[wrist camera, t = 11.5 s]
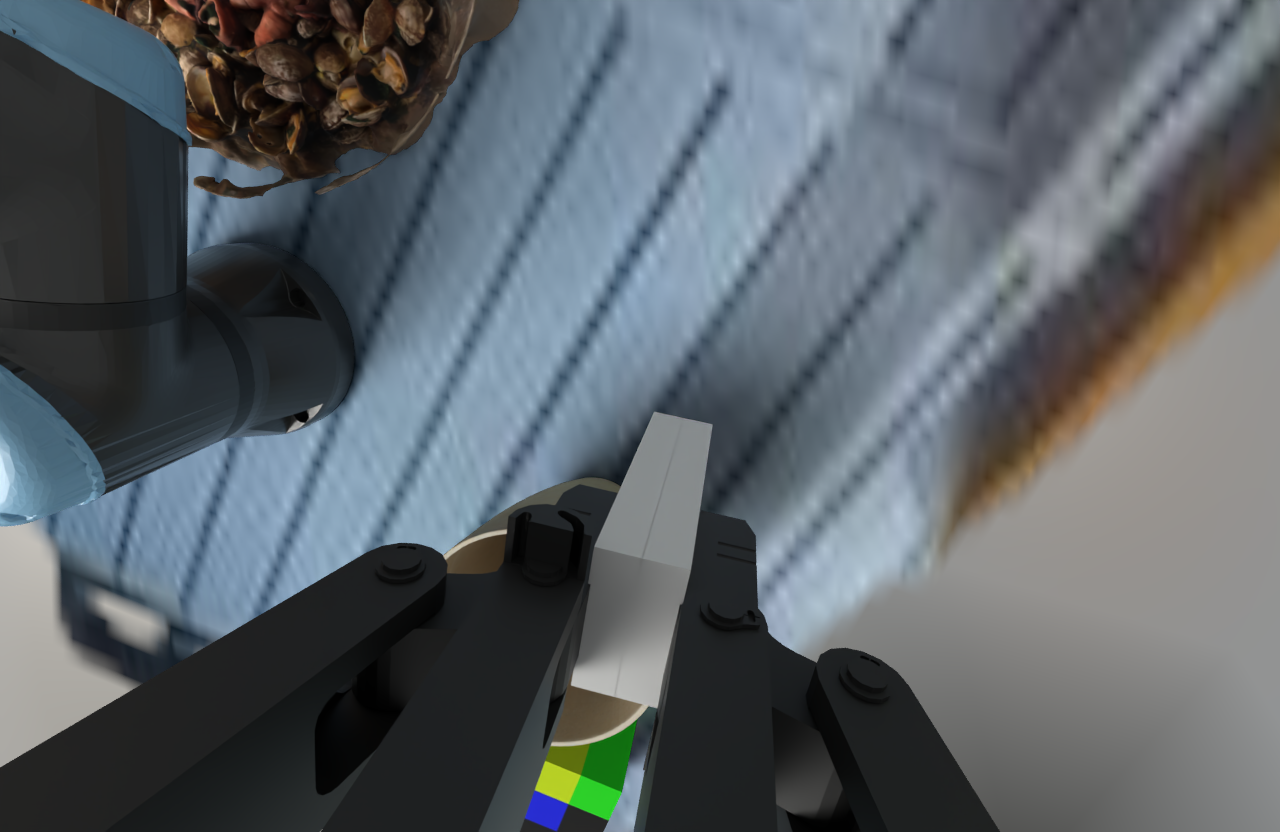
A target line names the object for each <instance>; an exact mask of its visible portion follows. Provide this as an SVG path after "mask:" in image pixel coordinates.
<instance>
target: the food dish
mask: <svg viewBox="0 0 1280 832" xmlns="http://www.w3.org/2000/svg"><path fill="white" fill-rule="evenodd" d="M80 1H83V2H85V3H87V4H90V5H92V6H94V7H96V8H99V9H101V10H103V11H105V12H108V13H110V14H112V15H114V16H116V17H119V18H121V19H123V20H125V21H127V22H129V23H131V24H133V25H135V26H137V27H139V28H141V29H143V30H145V31H147V32H149V33H150V34H152V35H153V36H155V37H156V38H158V39H159V40H160V41H161V42H163V43H164V44H165V45H166V46H167V47H168V48H169V49H170V51H171V52H172V53H173V54H174V55H175V57H176V58H177V60H178V62H179V64H180V66H181V68H182V71H183V75H184V82H185V102H186V121H187V131H188V132H189V133H190V135H191V137H192V146H188V147H200V148H209V149H213V150H215V151H216V152H218V153H219V154H221V155H222V156H224V157H225V158H228V159H230V160H234V161H236V162H239V163H241V164H245V165H247V166H248V167H250V168H253V169H256V170H259V171H260V170H261V169H262V168H264V167H267V166H272V167H274V168H277V169H281V170H282V171H283V173H284V175H283V177H282V179H281V180H280V181H278V182H276V183H274V184H268V185H263V186H257V187H245V188H241V187H237V186H235V185H233V184H232V183H231V182H230V181H229V180H228V179H223V180H222V181H221V182H220V183H218V182H216V181H215V178H214V177H206V176H199V177H196V178H194V185H195V186H196V187H198V188H201V189H204V190H205V191H208V192H211V193H212V194H215V195H220V196H224V197H232V198H239V199H244V198H251V197H254V196H263V194H264V193H265V192H266V191H268V190H270V189H271V188H274V187H278V186H281V185H284V184H287V183H292V182H296V181H300V180H304V179H311V178H321V177H323V176H325V175H327V174H329V173H340V171H339V169H338V168H337V167H336V166H335V160H336V159H337V158H339V157H340V156H341V155H342V154H345V153H347V152H348V151H349V150H351V149H355V148H363V149H372V150H374V151H377V152H382V153H385V154H388V155H387V156H386V157H385V158H384V159H383V160H381V161H380V162H379V163H377V164H375V165H373V166H371V167H369V168H366V169H364V170H362V171H359V172H357V173H355V174H353V175H349V176H343V177H340V178H338V179H336V180H334V181H333V182H332V183H330V184H329V185H327V186H325V187H323V188H321V189H320V190H318V191H316V192H315V193H316V194H318V195H320V194H324V193H326V192H328V191H331V190H332V189H334V188H336V187H340V186H341V185H344V184H346V183H348V182H351V181H354V180H356V179H358V178H359V177H361V176H363V175H364V174H366V173H368V172H369V171H370V170H372V169H374V168H375V167H376V166H378V165H379V164H380V163H381V162H383V161H384V160H385V159H386V158H387V157H388V156H389V155H395V154H397V153H398V152H401V151H402V150H404V149H407V148H409V147H410V146H411V145H413V144H414V143H416V142H417V141H418V140H419V139H420V137H422V135H423V133H424V131H425V130H426V129H427V127H428V126H429V124H430V122H431V120H432V117H433V110H434V107H435V106H436V105H437V104H439V103H441V102H442V100H443V98H444V97H445V95H446V91H447V88H448V86H449V85H451V84H452V83H453V81H454V80H455V78H456V76H457V72H458V67H459V63H460V60H461V57H462V55H463V54H464V53H465V52H466V51H467V50H469V48H471V47H472V46H473V44H475V43H477V42H480V41H485V40H487V41H489V40H490V39H492V38H493V37H495V36H496V35H497V34H498V33H500V32H501V31H503V30H504V29H505V28H506V27H508V25H509V24H510V22H511V21H512V20H513V18H514V16H515V14H516V12H517V10H518V4H519V0H80Z"/></svg>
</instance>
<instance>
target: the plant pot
mask: <svg viewBox="0 0 1280 832" xmlns="http://www.w3.org/2000/svg"><path fill="white" fill-rule="evenodd" d="M579 484H581V485H586V486H590V487H594V488H599V489H603V490H607V491H612V492H616V493H618V492H619V490H620V488H621V486H619V485H618V484H616V483H614V482H612V481H609V480H606V479H603V478H595V477H588V478H581V479H576V480H572V481H568V482H565V483H561V484H558V485H555V486H553V487H550V488H547V489H545V490H543V491H540V492H538V493H536V494H534V495H532V496H530V497H528V498H526V499H524V500H522V501H520V502H518V503H516V504H515V505H513V506H511V507H509V508H508V509H506V510H504V511H503V512H501V513H500V514H498V515H496V516H495V517H493V518H492V519H491V520H489V521H488V522H486V523H485V524H484V525H482V526H481V527H479V528H478V529H477V530H475V531H474V532H473V533H471V534H470V535H469V536H467V537H466V538H465V539H463V540H462V541H461V542H459V543H458V544H457V545H455V546H454V547H453V548H452V549H450V550H449V551H448V552H447V553H445V554H444V555H443V556H444V558H445V560H446V562H447V564H448V568H447V573H456V574H484V573H491V572H496V571H497V570H498V569H499V567H500V566H501V564H502V563H503V561H504V551H505V542H506V533H507V524H508V516H509V515H510V514H512V513H513V512H514V511H515V510H517V509H519V508H522V507H526V506H529V505H537V504H551V505H556V503H557V501H558V500H559V498H560V497H561V495H562V494H563V492H565V491H567V490H569V489H571V488H573V487H575V486H577V485H579ZM573 670H574V669H573ZM572 676H573V672H572V675H571V678H570V680H569V683H568V686H567V691H566V697H565V703H564V709H563V713H562V715H561V718H560V721H559V724H558V727H557V729H556V732H555V735H554V738H553V741H552V743H551V746H576V745H584V744H589V743H593V742H597V741H600V740H603V739H606V738H608V737H611V736H613V735H615V734H617V733H619V732H620V731H622V730H624V729H625V728H627V727H628V726H629V725H631V724H632V723H633V722H634V721H635V720H637V719H638V718H639V717H640V716H641V715H642V714H643V712H644V711H645V710H646V709H647V708H648V706H647V705H643V704H639V703H635V702H632V701H628V700H624V699H620V698H616V697H613V696H609V695H605V694H601V693H597V692H594V691H590V690H586V689H582V688H579V687H575V686H571V682H572Z"/></svg>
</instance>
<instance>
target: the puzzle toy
mask: <svg viewBox="0 0 1280 832" xmlns="http://www.w3.org/2000/svg"><path fill="white" fill-rule="evenodd" d="M636 723H637V720H635V721H634V722H633V723H632V724H631V725H629V726H628V727H627V728H625V729H624V730H622V731H620V732H619V733H617V734H615V735H613V736H611V737H608V738H606V739H603V740H600V741H597V742H593V743H589V744H584V745H576V746H550V749H549V752H548V755H547V757H546V760H545V763H544V766H543V768H542V771H541V774H540V777H539V780H538V782H537V785H536V788H535V791H534V794H533V796H532V799H531V802H530V805H529V808H528V810H527V813H526V816H525V819H524V822H523V824H522V827H521V830H520V832H603V831H604V829H605V827H606V825H607V823H608V821H609V819H610V816H611V814H612V812H613V810H614V808H615V806H616V804H617V802H618V799H619V797H620V795H621V793H622V789H623V785H624V780H625V775H626V771H627V766H628V761H629V756H630V752H631V747H632V742H633V737H634V733H635V728H636Z"/></svg>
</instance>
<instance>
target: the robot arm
mask: <svg viewBox="0 0 1280 832" xmlns="http://www.w3.org/2000/svg"><path fill="white" fill-rule="evenodd" d="M188 146H192V137H191V135H190V133H189V132H188V131H187V121H186V102H185V82H184V75H183V71H182V68H181V66H180V64H179V62H178V60H177V58H176V57H175V55H174V54H173V53H172V52H171V51H170V49H169V48H168V47H167V46H166V45H165V44H164V43H163V42H161V41H160V40H159V39H158V38H156V37H155V36H153V35H152V34H150V33H149V32H147V31H145V30H143V29H141V28H139V27H137V26H135V25H133V24H131V23H129V22H127V21H125V20H123V19H121V18H119V17H116V16H114V15H112V14H110V13H108V12H105V11H103V10H101V9H99V8H96V7H94V6H92V5H90V4H87V3H85V2H83V1H80V0H0V526H15V525H21V524H25V523H29V522H33V521H35V520H38V519H41V518H43V517H46V516H49V515H51V514H54V513H56V512H59V511H62V510H65V509H67V508H70V507H73V506H76V505H84V504H88V503H91V502H93V501H95V500H96V499H97V498H100V496H102V495H104V494H106V493H109V492H111V491H113V490H115V489H117V488H119V487H122V486H124V485H126V484H128V483H130V482H132V481H134V480H137V479H139V478H141V477H143V476H145V475H147V474H150V473H152V472H154V471H156V470H158V469H160V468H162V467H165V466H167V465H169V464H171V463H173V462H175V461H178V460H180V459H182V458H184V457H186V456H188V455H190V454H193V453H195V452H197V451H199V450H201V449H203V448H206V447H208V446H210V445H212V444H214V443H216V442H218V441H221V440H223V439H225V438H235V437H251V436H267V435H280V434H286V433H290V432H294V431H297V430H300V429H302V428H305V427H307V426H309V425H311V424H313V423H315V422H317V421H319V420H321V419H323V418H324V417H326V416H327V415H328V414H330V413H331V412H332V411H333V410H334V409H335V408H336V407H337V406H338V405H339V404H340V402H341V401H342V400H343V398H344V396H345V395H346V393H347V391H348V388H349V386H350V383H351V379H352V375H353V370H354V344H353V338H352V334H351V330H350V327H349V323H348V321H347V318H346V315H345V313H344V311H343V309H342V307H341V305H340V303H339V301H338V300H337V298H336V296H335V295H334V293H333V292H332V291H331V289H330V288H329V287H328V285H327V284H326V283H325V282H324V281H323V279H322V278H321V277H320V276H319V275H318V274H317V273H316V272H315V271H314V270H313V269H311V268H310V267H309V266H308V265H306V264H305V263H304V262H303V261H301V260H300V259H298V258H297V257H295V256H293V255H291V254H290V253H287V252H285V251H283V250H281V249H278V248H276V247H273V246H269V245H265V244H259V243H233V244H221V245H215V246H211V247H208V248H204V249H201V250H199V251H197V252H195V253H193V254H191V255H189V256H188V257H187V226H188ZM712 426H713V424H709V423H704V422H700V421H695V420H690V419H686V418H681V417H677V416H672V415H667V414H663V413H658V412H654V413H653V416H652V418H651V420H650V422H649V425H648V427H647V429H646V431H645V434H644V436H643V438H642V440H641V443H640V445H639V447H638V449H637V452H636V454H635V456H634V458H633V461H632V463H631V465H630V467H629V470H628V472H627V474H626V476H625V479H624V481H623V483H622V485H621V488H620V490H619V492H618V493H616V492H612V491H607V490H603V489H599V488H594V487H590V486H586V485H581V484H579V485H577V486H575V487H573V488H571V489H569V490H567V491H565V492H563V494H562V495H561V497H560V498H559V500H558V501H557V503H556V505H551V504H537V505H529V506H526V507H522V508H519V509H517V510H515V511H514V512H513V513H512V514H510V515H509V516H508V524H507V533H506V542H505V551H504V561H503V563H502V564H501V566H500V567H499V569H498V570H497V571H496V572H491V573H484V574H456V573H447V568H448V564H447V562H446V560H445V558H444V556H443V555H442V554H441V553H439V552H437V551H436V550H434V549H433V548H431V547H427V546H424V545H420V544H412V543H397V544H391V545H385V546H381V547H379V548H376V549H374V550H371V551H369V552H367V553H365V554H363V555H362V556H360V557H358V558H356V559H355V560H353V561H351V562H350V563H348V564H346V565H345V566H343V567H341V568H339V569H338V570H336V571H334V572H333V573H331V574H329V575H327V576H326V577H324V578H322V579H321V580H319V581H317V582H316V583H314V584H312V585H310V586H309V587H307V588H305V589H304V590H302V591H300V592H299V593H297V594H295V595H293V596H292V597H290V598H288V599H287V600H285V601H283V602H281V603H280V604H278V605H276V606H275V607H273V608H271V609H270V610H268V611H266V612H264V613H263V614H261V615H259V616H258V617H256V618H254V619H252V620H251V621H249V622H247V623H246V624H244V625H242V626H241V627H239V628H237V629H235V630H234V631H232V632H230V633H229V634H227V635H225V636H224V637H222V638H220V639H218V640H217V641H215V642H213V643H212V644H210V645H208V646H206V647H205V648H203V649H201V650H200V651H198V652H196V653H195V654H193V655H191V656H189V657H188V658H186V659H184V660H183V661H181V662H179V663H177V664H176V665H174V666H172V667H171V668H169V669H167V670H166V671H164V672H162V673H160V674H159V675H157V676H155V677H154V678H152V679H150V680H149V681H147V682H145V683H143V684H142V685H140V686H138V687H137V688H135V689H133V690H131V691H130V692H128V693H126V694H125V695H123V696H122V697H120V698H118V699H116V700H114V701H113V702H111V703H109V704H108V705H106V706H104V707H102V708H101V709H99V710H97V711H96V712H94V713H92V714H91V715H89V716H87V717H86V718H84V719H82V720H80V721H79V722H77V723H75V724H74V725H72V726H70V727H69V728H67V729H65V730H64V731H62V732H60V733H58V734H57V735H55V736H53V737H51V738H50V739H48V740H46V741H45V742H43V743H41V744H39V745H38V746H36V747H34V748H33V749H31V750H29V751H28V752H26V753H24V754H22V755H21V756H19V757H17V758H16V759H14V760H12V761H10V762H9V763H7V764H5V765H4V766H2V767H0V832H320V831H321V830H322V831H321V832H520V830H521V827H522V824H523V822H524V819H525V816H526V813H527V810H528V808H529V805H530V802H531V799H532V796H533V794H534V791H535V788H536V785H537V782H538V780H539V777H540V774H541V771H542V768H543V766H544V763H545V760H546V757H547V755H548V752H549V749H550V746H551V743H552V741H553V738H554V735H555V732H556V729H557V727H558V724H559V721H560V718H561V715H562V713H563V709H564V703H565V697H566V691H567V686H568V683H569V680H570V678H571V675H572V672H573V676H572V682H571V686H575V687H579V688H582V689H586V690H590V691H594V692H597V693H601V694H605V695H609V696H613V697H616V698H620V699H624V700H628V701H632V702H635V703H639V704H643V705H647V706H650V707H654V708H657V712H656V717H655V721H654V725H653V729H652V734H651V738H650V742H649V746H648V751H647V755H646V759H645V763H644V768H643V770H645V772H644V778H643V783H642V789H641V794H640V800H639V805H638V811H637V816H636V822H635V827H634V832H1000V831H999V829H998V828H997V826H996V825H995V823H994V821H993V820H992V818H991V817H990V815H989V814H988V812H987V810H986V809H985V807H984V806H983V804H982V802H981V801H980V799H979V797H978V796H977V794H976V793H975V791H974V789H973V788H972V786H971V785H970V783H969V781H968V780H967V778H966V777H965V775H964V773H963V772H962V770H961V769H960V767H959V765H958V764H957V762H956V761H955V759H954V757H953V756H952V754H951V753H950V751H949V749H948V748H947V746H946V745H945V743H944V741H943V740H942V738H941V737H940V735H939V733H938V732H937V730H936V729H935V727H934V725H933V724H932V722H931V721H930V719H929V717H928V716H927V714H926V713H925V711H924V709H923V708H922V706H921V704H920V703H919V701H918V700H917V698H916V697H915V695H914V693H913V692H912V690H911V688H910V687H909V685H908V684H907V683H906V682H905V681H904V679H903V678H902V677H901V676H900V675H899V674H898V672H896V671H895V670H894V669H893V668H891V667H889V666H888V665H887V664H886V663H884V662H883V661H882V660H880V659H878V658H876V657H874V656H871V655H869V654H867V653H865V652H862V651H858V650H852V649H848V648H837V649H830V650H828V651H826V652H825V653H823V654H821V655H820V657H819V659H818V662H817V663H816V662H814V661H812V660H810V659H808V658H806V657H804V656H802V655H800V654H798V653H795V652H794V651H792V650H790V649H789V648H787V647H785V646H783V645H782V644H781V643H779V642H778V641H777V640H776V639H774V638H773V637H772V636H771V635H770V634H769V632H768V626H767V623H766V620H765V617H764V615H763V614H762V612H761V611H760V610H759V609H758V598H757V566H756V536H755V534H754V533H753V531H752V530H751V528H750V527H749V525H748V524H747V523H746V521H745V520H740V519H736V518H732V517H727V516H723V515H719V514H714V513H710V512H706V511H701V510H700V506H701V499H702V492H703V486H704V479H705V472H706V466H707V459H708V452H709V446H710V439H711V432H712ZM573 669H574V670H573Z"/></svg>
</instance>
